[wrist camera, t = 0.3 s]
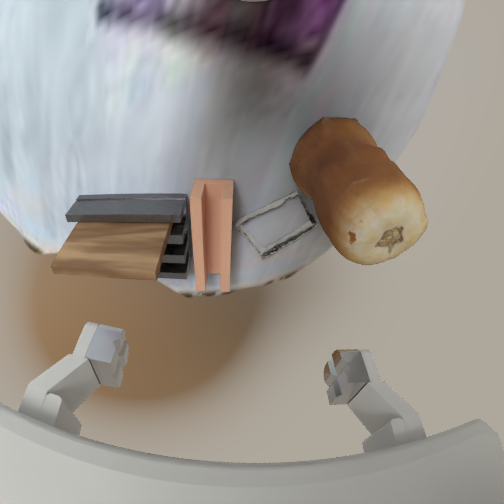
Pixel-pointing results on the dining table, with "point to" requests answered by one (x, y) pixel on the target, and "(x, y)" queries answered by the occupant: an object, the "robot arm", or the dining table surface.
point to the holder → (211, 230)
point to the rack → (143, 211)
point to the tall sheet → (114, 250)
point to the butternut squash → (357, 192)
